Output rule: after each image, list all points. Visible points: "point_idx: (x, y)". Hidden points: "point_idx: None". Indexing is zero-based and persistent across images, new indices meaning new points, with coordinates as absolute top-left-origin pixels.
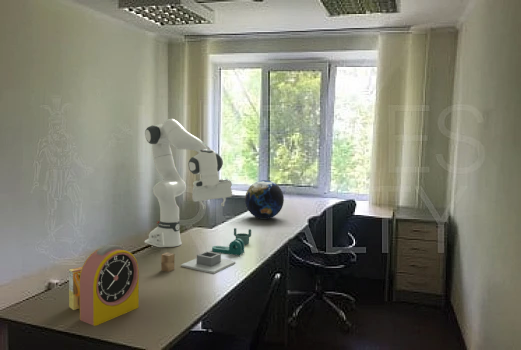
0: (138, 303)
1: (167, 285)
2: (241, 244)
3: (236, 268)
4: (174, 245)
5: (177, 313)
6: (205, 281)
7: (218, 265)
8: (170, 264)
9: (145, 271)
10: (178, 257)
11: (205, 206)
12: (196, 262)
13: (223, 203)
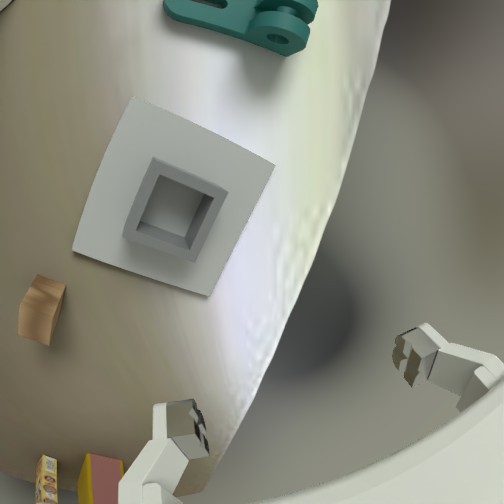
0: (122, 466)
1: (112, 394)
2: (306, 18)
3: (277, 222)
4: (5, 3)
5: (189, 460)
6: (196, 354)
7: (214, 227)
8: (57, 316)
9: (3, 318)
10: (30, 133)
11: (205, 446)
12: (119, 209)
13: (430, 376)
